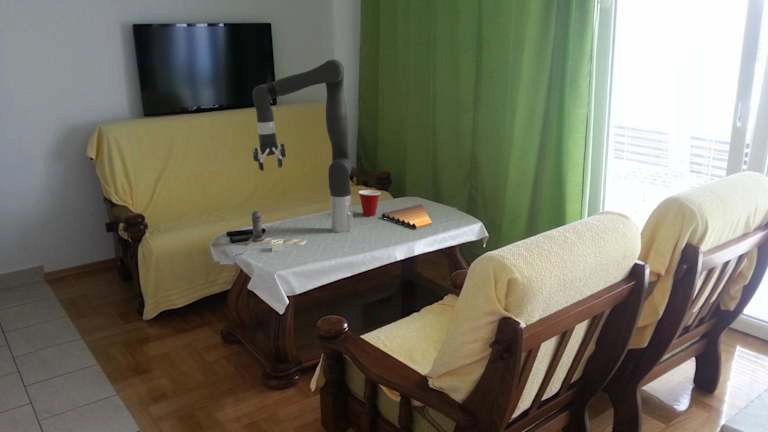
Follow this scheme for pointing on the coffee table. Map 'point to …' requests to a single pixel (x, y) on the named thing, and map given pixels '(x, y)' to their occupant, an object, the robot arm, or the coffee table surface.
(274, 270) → the coffee table surface
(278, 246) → the die
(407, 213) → the pan flute
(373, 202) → the plastic cup
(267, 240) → the board
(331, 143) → the robot arm
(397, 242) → the coffee table surface
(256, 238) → the pawn
